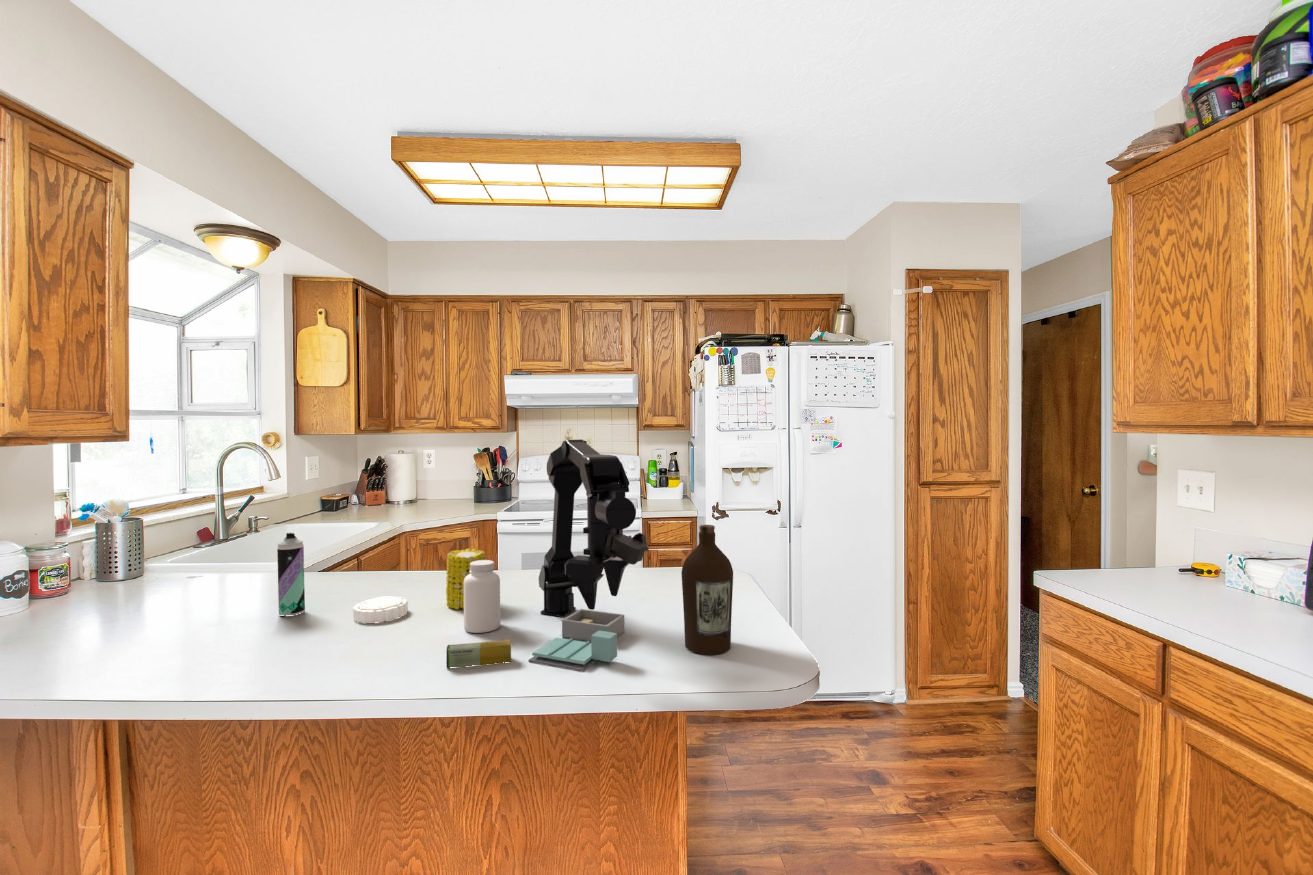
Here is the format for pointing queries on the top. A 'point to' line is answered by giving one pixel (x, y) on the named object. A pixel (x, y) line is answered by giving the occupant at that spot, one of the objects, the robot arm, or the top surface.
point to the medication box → (478, 653)
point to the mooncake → (380, 609)
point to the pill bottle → (481, 598)
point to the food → (459, 574)
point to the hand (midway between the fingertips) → (603, 602)
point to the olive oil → (707, 596)
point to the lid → (581, 649)
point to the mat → (561, 663)
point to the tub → (591, 624)
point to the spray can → (291, 575)
